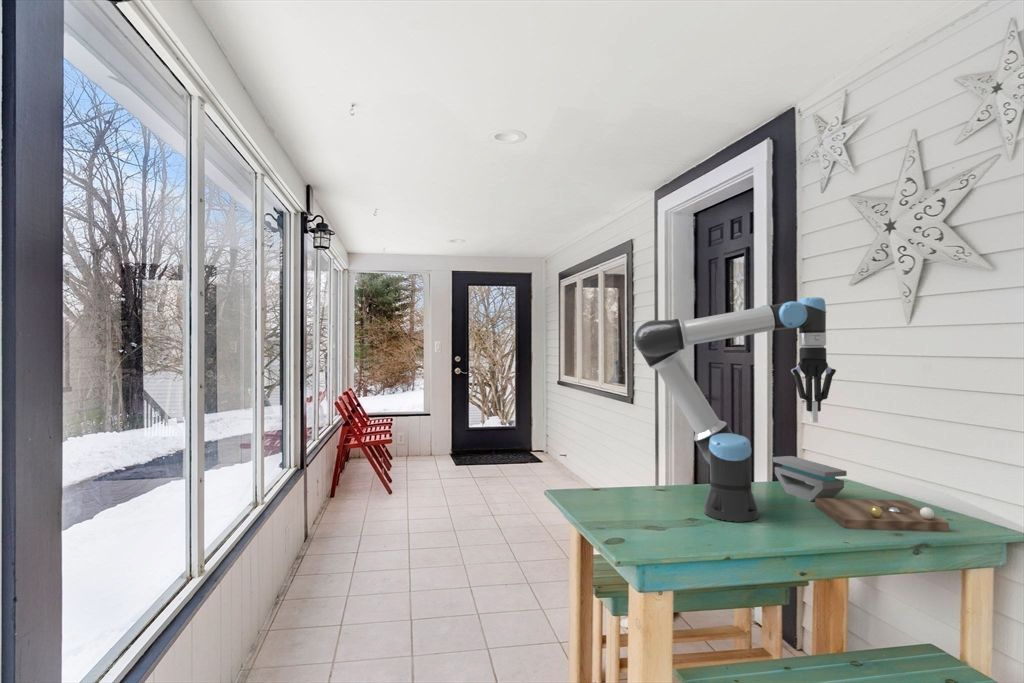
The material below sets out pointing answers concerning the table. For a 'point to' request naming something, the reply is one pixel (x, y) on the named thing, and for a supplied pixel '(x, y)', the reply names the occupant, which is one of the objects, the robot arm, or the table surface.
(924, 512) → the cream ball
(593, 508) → the table surface
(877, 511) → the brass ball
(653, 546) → the table surface
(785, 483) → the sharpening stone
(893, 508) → the steel ball
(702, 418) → the robot arm
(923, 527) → the walnut plate
